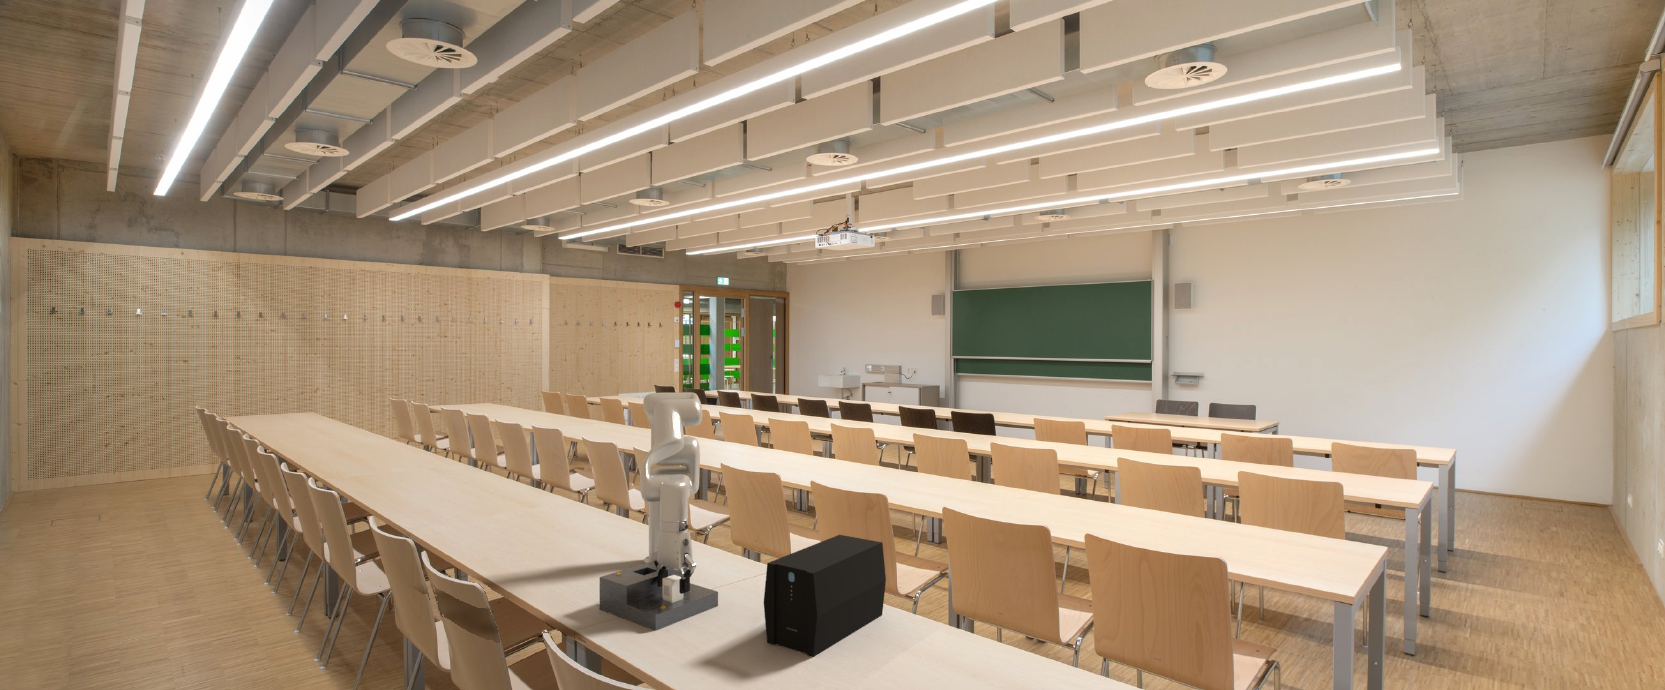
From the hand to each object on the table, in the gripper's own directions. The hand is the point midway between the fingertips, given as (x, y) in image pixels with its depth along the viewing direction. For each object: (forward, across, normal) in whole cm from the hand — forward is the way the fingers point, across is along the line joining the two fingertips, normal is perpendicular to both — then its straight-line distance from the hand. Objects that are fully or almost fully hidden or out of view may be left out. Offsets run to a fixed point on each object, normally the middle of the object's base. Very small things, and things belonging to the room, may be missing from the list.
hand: (673, 588), depth 201 cm
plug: (+5, 0, 0) cm, 5 cm away
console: (+7, +6, 0) cm, 9 cm away
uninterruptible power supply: (+7, -40, -18) cm, 44 cm away
